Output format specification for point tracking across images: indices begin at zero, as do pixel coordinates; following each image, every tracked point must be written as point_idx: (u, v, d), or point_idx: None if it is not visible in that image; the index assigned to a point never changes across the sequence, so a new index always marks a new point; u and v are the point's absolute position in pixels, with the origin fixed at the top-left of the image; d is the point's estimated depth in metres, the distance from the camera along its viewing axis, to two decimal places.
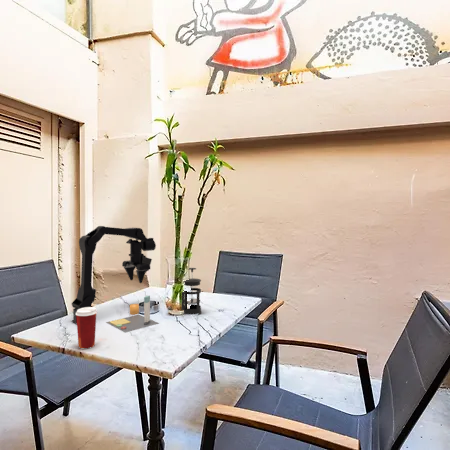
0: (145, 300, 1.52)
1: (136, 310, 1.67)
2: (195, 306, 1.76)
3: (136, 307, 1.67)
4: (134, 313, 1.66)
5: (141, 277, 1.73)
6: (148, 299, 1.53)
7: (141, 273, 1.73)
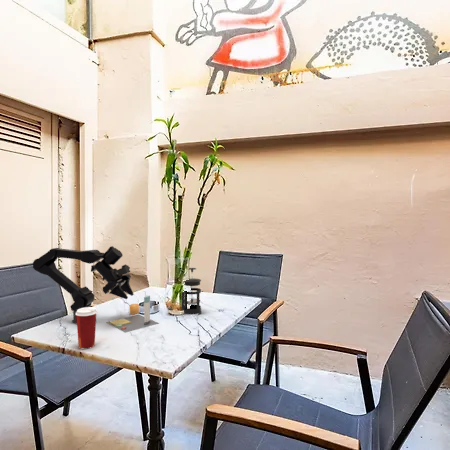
0: (145, 300, 1.52)
1: (136, 310, 1.67)
2: (195, 306, 1.76)
3: (136, 307, 1.67)
4: (134, 313, 1.66)
5: (121, 294, 1.50)
6: (148, 299, 1.53)
7: (117, 291, 1.50)
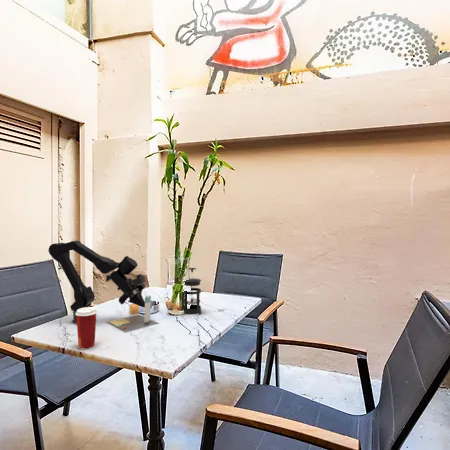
0: (146, 300, 1.52)
1: (136, 310, 1.67)
2: (195, 306, 1.76)
3: (136, 307, 1.67)
4: (134, 313, 1.66)
5: (139, 302, 1.52)
6: (149, 299, 1.53)
7: (136, 299, 1.52)
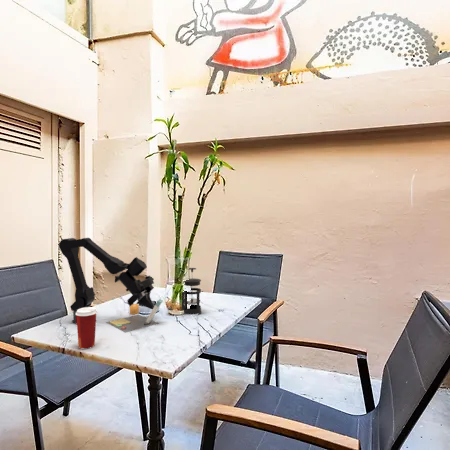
0: (157, 304, 1.51)
1: (136, 310, 1.67)
2: (195, 306, 1.76)
3: (136, 307, 1.67)
4: (134, 313, 1.66)
5: (147, 304, 1.52)
6: (160, 304, 1.52)
7: (144, 301, 1.52)
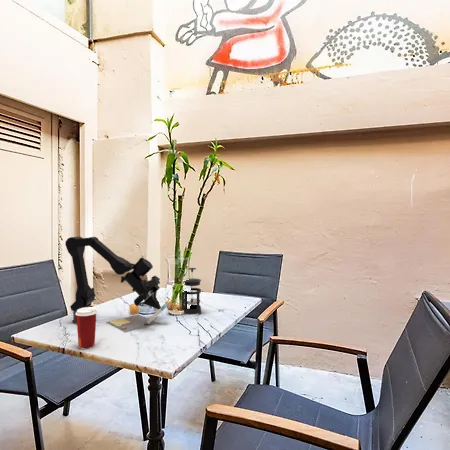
0: (162, 308, 1.51)
1: (136, 310, 1.67)
2: (195, 306, 1.76)
3: (136, 307, 1.67)
4: (134, 313, 1.66)
5: (154, 304, 1.52)
6: (164, 308, 1.52)
7: (150, 301, 1.52)
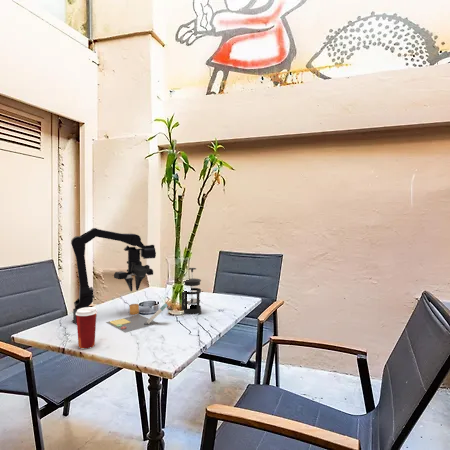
0: (162, 308, 1.51)
1: (136, 310, 1.67)
2: (195, 306, 1.76)
3: (136, 307, 1.67)
4: (134, 313, 1.66)
5: (129, 285, 1.66)
6: (164, 308, 1.52)
7: (128, 281, 1.66)
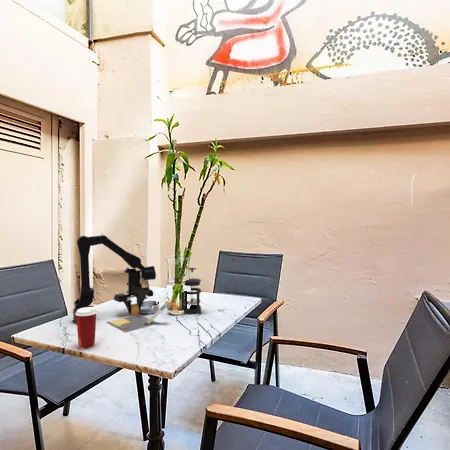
0: (162, 308, 1.51)
1: (136, 310, 1.67)
2: (195, 306, 1.76)
3: (136, 307, 1.67)
4: (134, 313, 1.66)
5: (127, 307, 1.66)
6: (164, 308, 1.52)
7: (127, 303, 1.66)
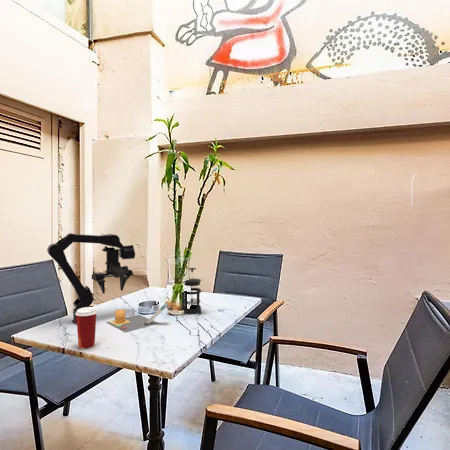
0: (162, 308, 1.51)
1: (122, 317, 1.52)
2: (195, 306, 1.76)
3: (122, 313, 1.52)
4: (119, 320, 1.52)
5: (101, 287, 1.61)
6: (164, 308, 1.52)
7: (100, 283, 1.61)
